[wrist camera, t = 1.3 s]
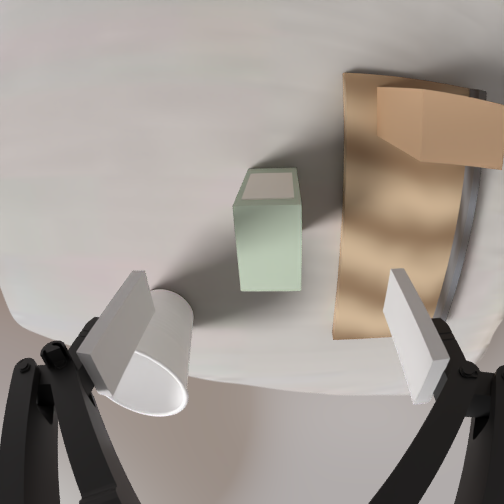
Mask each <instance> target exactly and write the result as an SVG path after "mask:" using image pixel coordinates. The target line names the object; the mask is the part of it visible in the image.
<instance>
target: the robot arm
mask: <svg viewBox="0 0 504 504" xmlns="http://www.w3.org/2000/svg"><path fill="white" fill-rule="evenodd" d="M154 313H155V307H154V304H153V300H152V296H151V293H150V289H149V285H148V281H147V277H146V273H145V271H132V272H131V274H130V275H129V277H128V278H127V279H126V281H125V282H124V283H123V285H122V286H121V287H120V289H119V290H118V292H117V293H116V294H115V296H114V297H113V299H112V300H111V301H110V303H109V304H108V306H107V307H106V308H105V310H104V311H103V313H102V314H101V316H100V317H94V318H93V319H91V320H90V321H89V322H88V323H87V324H86V325H85V327H84V328H83V329H82V331H81V332H80V334H79V335H78V337H77V338H76V339H75V341H74V342H73V344H72V345H71V347H70V348H69V350H67V348H66V346H65V344H64V342H62V341H53V342H50V343H48V344H47V345H45V346H44V347H43V349H42V350H41V354H40V355H41V357H42V359H43V361H44V362H45V364H46V365H38V366H37V364H36V362H35V361H34V359H32V358H25V359H22V360H21V361H19V362H18V363H17V365H15V368H14V371H13V375H12V379H11V384H10V389H9V393H8V399H7V404H6V410H5V415H4V422H3V428H2V436H1V444H0V504H60V496H59V481H58V445H57V444H58V421H59V425H60V429H61V433H62V437H63V440H64V444H65V447H66V451H67V454H68V458H69V461H70V464H71V467H72V470H73V473H74V476H75V479H76V482H77V485H78V487H79V490H80V493H81V496H82V499H81V500H80V501H79V504H141V503H140V501H139V499H138V497H137V496H136V494H135V492H134V490H133V488H132V486H131V484H130V482H129V480H128V478H127V476H126V474H125V472H124V469H123V467H122V465H121V463H120V461H119V459H118V456H117V454H116V452H115V450H114V447H113V445H112V443H111V440H110V438H109V436H108V433H107V430H106V428H105V425H104V423H103V420H102V418H101V415H100V412H99V410H98V407H97V404H96V401H95V399H94V396H93V394H92V393H91V391H92V389H93V387H94V386H95V388H96V390H97V391H98V393H99V394H101V395H106V396H111V397H113V395H114V393H115V391H116V388H117V386H118V384H119V382H120V380H121V378H122V376H123V374H124V372H125V370H126V368H127V366H128V364H129V362H130V360H131V358H132V356H133V354H134V352H135V350H136V348H137V346H138V344H139V342H140V340H141V338H142V336H143V334H144V332H145V330H146V328H147V326H148V324H149V322H150V320H151V318H152V316H153V315H154ZM383 313H384V315H385V318H386V321H387V324H388V327H389V329H390V332H391V335H392V338H393V341H394V344H395V347H396V350H397V353H398V356H399V359H400V362H401V365H402V369H403V372H404V375H405V378H406V382H407V385H408V388H409V392H410V395H411V399H412V402H413V405H415V404H422V403H429V401H430V399H431V398H432V396H433V394H434V397H435V400H436V402H435V404H434V406H433V408H432V409H431V411H430V413H429V415H428V416H427V418H426V420H425V422H424V423H423V425H422V427H421V429H420V430H419V432H418V434H417V435H416V437H415V438H414V440H413V442H412V443H411V445H410V446H409V448H408V449H407V451H406V453H405V454H404V456H403V457H402V459H401V460H400V462H399V463H398V464H397V466H396V467H395V469H394V470H393V472H392V473H391V474H390V476H389V477H388V479H387V480H386V482H385V483H384V484H383V486H382V487H381V488H380V489H379V491H378V492H377V493H376V495H375V496H374V497H373V498H372V500H371V501H370V502H369V504H418V503H419V501H420V500H421V498H422V497H423V495H424V493H425V492H426V490H427V488H428V487H429V485H430V484H431V482H432V480H433V478H434V477H435V475H436V473H437V471H438V470H439V468H440V466H441V464H442V462H443V460H444V458H445V457H446V455H447V453H448V451H449V449H450V447H451V445H452V443H453V441H454V439H455V437H456V435H457V433H458V430H459V428H460V426H461V424H462V422H463V419H464V417H472V419H471V426H470V433H469V439H468V445H467V451H466V456H465V461H464V467H463V471H462V475H461V480H460V484H459V488H458V492H457V496H456V499H455V503H454V504H504V365H503V366H500V367H499V368H498V369H497V370H496V372H495V373H487V372H481V371H480V370H479V368H478V367H477V366H476V365H475V364H473V363H472V362H469V361H466V359H465V357H464V355H463V353H462V351H461V349H460V347H459V345H458V343H457V341H456V340H455V337H454V335H453V333H452V331H451V330H450V328H449V326H448V324H447V323H446V322H445V321H443V320H442V319H441V318H430V316H429V314H428V312H427V310H426V308H425V306H424V304H423V302H422V300H421V298H420V297H419V295H418V293H417V291H416V289H415V287H414V285H413V284H412V282H411V280H410V278H409V276H408V275H407V273H406V271H405V269H404V268H397V269H391V270H390V276H389V281H388V287H387V292H386V298H385V303H384V308H383Z"/></svg>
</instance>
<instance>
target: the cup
mask: <svg viewBox="0 0 504 504" xmlns="http://www.w3.org/2000/svg"><path fill="white" fill-rule="evenodd" d="M150 293H151V296H152V300H153V304H154V307H155V313H154V315H153V316H152V318H151V320H150V322H149V324H148V326H147V328H146V330H145V332H144V334H143V336H142V338H141V340H140V342H139V344H138V346H137V348H136V350H135V352H134V354H133V356H132V358H131V360H130V362H129V364H128V366H127V368H126V370H125V372H124V374H123V376H122V378H121V380H120V382H119V384H118V386H117V388H116V391H115V393H114V395H113V397H111V396H107V397H108V398H109V399H111V400H112V401H114V402H115V403H117V404H119V405H121V406H122V407H125V408H127V409H129V410H131V411H134V412H137V413H141V414H145V415H150V416H170V415H174V414H176V413H179V412H180V411H182V410H183V409H184V408H185V407H186V405H187V403H188V397H189V395H188V391H187V381H188V370H189V358H190V348H191V338H192V329H193V320H194V315H193V311H192V308H191V307H190V305H189V303H188V302H187V301H186V300H185V299H184V298H183V297H181V296H180V295H178V294H177V293H174V292H172V291H169V290H164V289H156V290H152V291H150ZM105 396H106V395H105Z"/></svg>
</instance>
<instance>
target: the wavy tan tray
mask: <svg viewBox="0 0 504 504" xmlns="http://www.w3.org/2000/svg"><path fill="white" fill-rule="evenodd" d="M377 87H395V88H414V89H426V90H432V91H439V92H445V93H451V94H456V95H461V96H466V97H471V98H476V99H481V100H485V101H486V91H482V90H477V89H469V88H464V87H459V86H454V85H449V84H443V83H437V82H431V81H425V80H418V79H411V78H403V77H394V76H384V75H373V74H360V73H343V100H344V176H343V205H342V226H341V242H340V257H339V270H338V281H337V292H336V302H335V312H334V321H333V330H332V335H333V340H342V339H364V338H381V337H392V335H391V332H390V329H389V327H388V324H387V321H386V318H385V315H384V313H383V308H384V303H385V298H386V292H387V287H388V281H389V276H390V270H391V269H397V268H404V269H405V271H406V273H407V275H408V276H409V278H410V280H411V282H412V284H413V285H414V287H415V289H416V291H417V293H418V295H419V297H420V298H421V300H422V302H423V304H424V306H425V308H426V310H427V312H428V314H429V316H430V318H441V319H442V320H443V321H446V319H447V316H448V313H449V310H450V307H451V304H452V300H453V297H454V294H455V291H456V287H457V284H458V281H459V277H460V273H461V270H462V266H463V262H464V258H465V254H466V250H467V246H468V242H469V237H470V233H471V228H472V223H473V218H474V213H475V208H476V202H477V196H478V189H479V183H480V175H481V167H473V166H464V165H454V164H443V163H431V162H420V161H418V160H417V159H415V158H414V157H412V156H410V155H409V154H407V153H405V152H404V151H402V150H400V149H399V148H397V147H395V146H394V145H392V144H390V143H389V142H387V141H385V140H383V139H382V138H380V137H378V136H377Z"/></svg>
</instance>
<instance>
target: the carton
mask: <svg viewBox="0 0 504 504" xmlns="http://www.w3.org/2000/svg"><path fill="white" fill-rule="evenodd" d="M233 216H234V227H235V237H236V248H237V258H238V268H239V278H240V288H241V291H301V264H302V203H301V196H300V189H299V182H298V176H297V169H296V168H260V169H248V171H247V173H246V176H245V178H244V180H243V183H242V185H241V187H240V190H239V192H238V194H237V197H236V199H235V202H234V204H233Z"/></svg>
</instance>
